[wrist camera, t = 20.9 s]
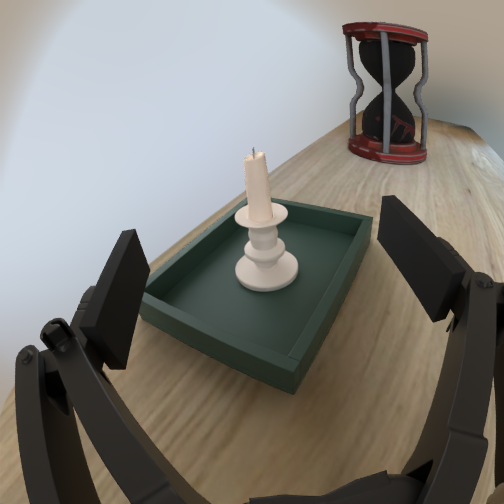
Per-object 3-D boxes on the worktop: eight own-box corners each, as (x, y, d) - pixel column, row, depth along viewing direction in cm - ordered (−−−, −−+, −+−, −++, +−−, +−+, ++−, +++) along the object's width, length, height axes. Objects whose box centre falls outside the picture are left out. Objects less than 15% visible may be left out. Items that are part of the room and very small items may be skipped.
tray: (293, 395, 16) (293, 372, 14) (141, 318, 23) (128, 293, 21) (370, 241, 28) (373, 217, 26) (253, 216, 34) (250, 194, 32)
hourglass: (354, 137, 60) (349, 31, 45) (423, 147, 53) (424, 38, 38) (340, 157, 49) (333, 20, 34) (429, 171, 42) (431, 27, 27)
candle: (234, 294, 23) (208, 164, 17) (237, 254, 27) (218, 142, 21) (302, 289, 22) (298, 155, 16) (294, 249, 26) (289, 135, 20)
